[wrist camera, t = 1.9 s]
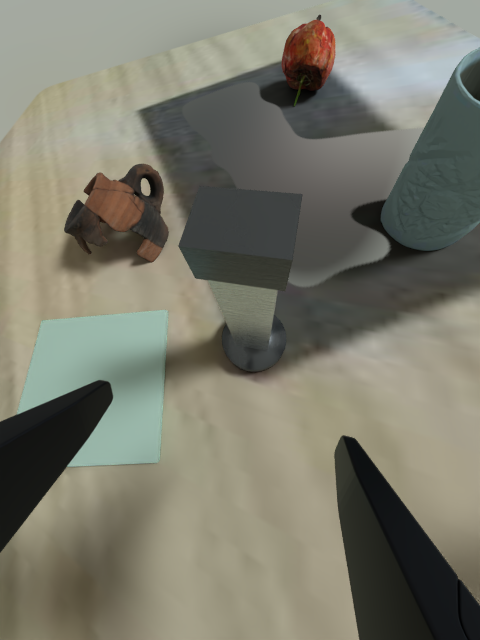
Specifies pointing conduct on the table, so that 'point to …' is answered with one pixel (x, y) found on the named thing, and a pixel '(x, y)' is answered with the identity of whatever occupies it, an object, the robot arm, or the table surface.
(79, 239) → the pottery mug
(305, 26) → the red ribbed fruit
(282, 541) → the table surface
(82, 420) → the robot arm
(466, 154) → the green cup
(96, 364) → the rest mat
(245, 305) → the square pillar on disc
